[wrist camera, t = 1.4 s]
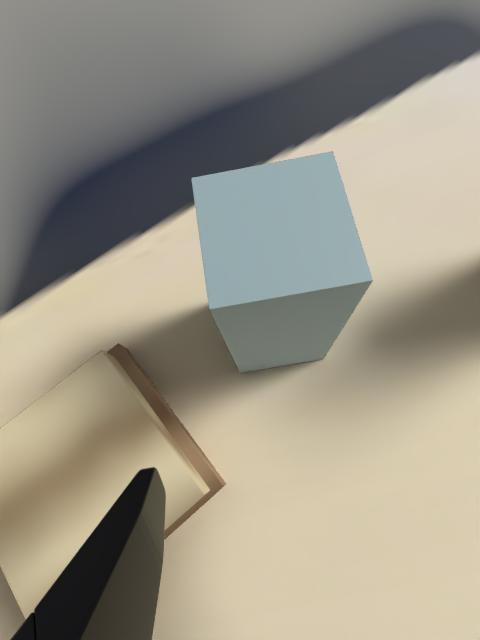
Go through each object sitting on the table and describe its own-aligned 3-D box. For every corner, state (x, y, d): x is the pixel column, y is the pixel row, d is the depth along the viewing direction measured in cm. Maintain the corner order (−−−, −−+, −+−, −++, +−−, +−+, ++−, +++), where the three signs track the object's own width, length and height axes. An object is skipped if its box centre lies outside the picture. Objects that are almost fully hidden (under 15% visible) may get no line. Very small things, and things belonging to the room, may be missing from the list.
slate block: (323, 358, 23) (372, 280, 12) (240, 373, 23) (208, 309, 12) (305, 282, 25) (332, 151, 14) (228, 296, 25) (191, 178, 14)
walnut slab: (227, 482, 22) (223, 486, 20) (79, 616, 20) (58, 634, 18) (130, 350, 25) (118, 343, 23) (-5, 456, 23) (-29, 458, 22)
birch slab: (210, 490, 20) (203, 495, 18) (61, 623, 18) (37, 643, 17) (115, 357, 23) (101, 350, 21) (-20, 463, 21) (-48, 465, 20)
